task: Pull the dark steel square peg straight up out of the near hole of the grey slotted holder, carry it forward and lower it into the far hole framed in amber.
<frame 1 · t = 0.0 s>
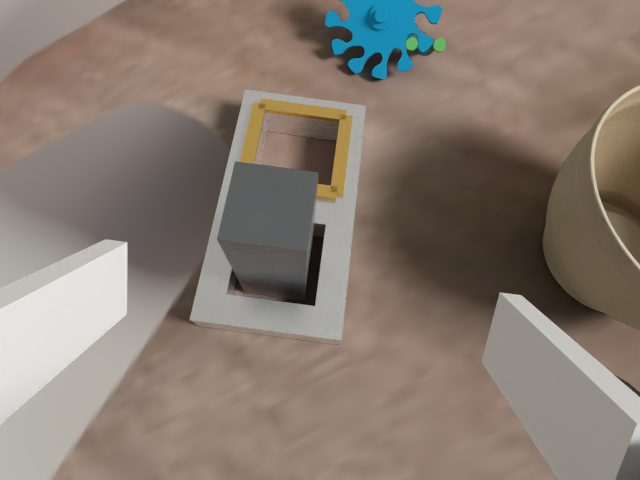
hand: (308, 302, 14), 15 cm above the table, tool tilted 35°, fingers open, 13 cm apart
planter bowl: (598, 257, 32), on the table
gear: (379, 55, 39), on the table
peg: (279, 268, 31), resting in grey slotted holder
grey slotted holder: (288, 214, 32), on the table
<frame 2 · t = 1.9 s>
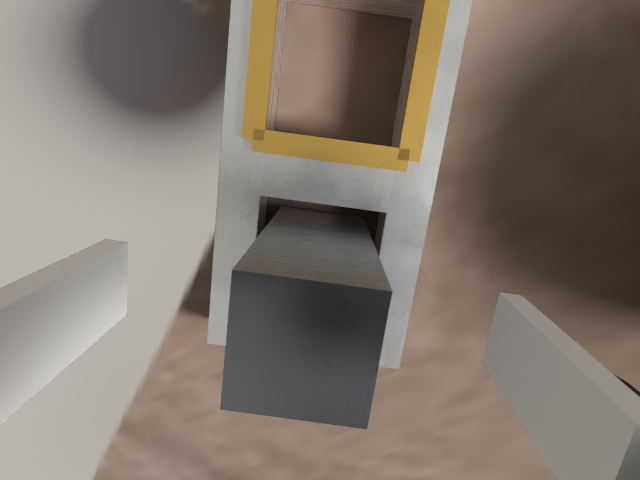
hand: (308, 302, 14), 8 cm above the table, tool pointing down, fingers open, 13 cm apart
peg: (317, 250, 22), resting in grey slotted holder
grey slotted holder: (328, 168, 21), on the table
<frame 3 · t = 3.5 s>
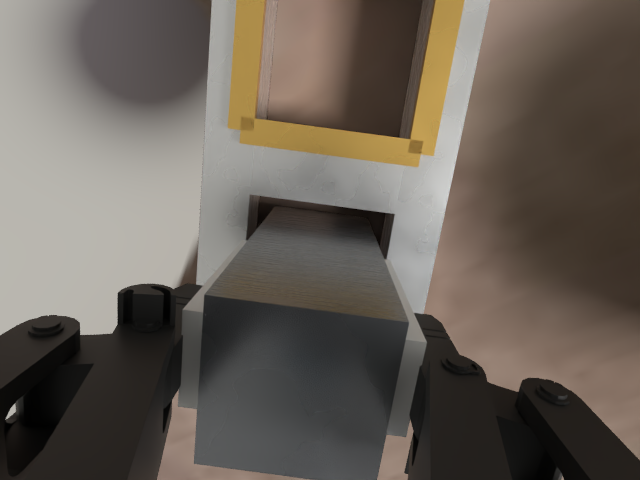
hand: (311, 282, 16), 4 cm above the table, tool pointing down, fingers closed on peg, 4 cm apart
peg: (315, 255, 20), resting in grey slotted holder, touching gripper
grey slotted holder: (328, 163, 19), on the table
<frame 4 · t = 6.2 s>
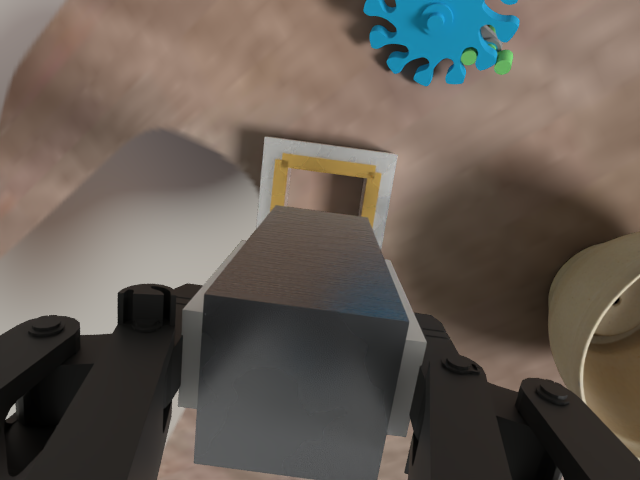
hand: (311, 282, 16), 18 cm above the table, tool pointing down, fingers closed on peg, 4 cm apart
planter bowl: (601, 294, 35), on the table
gear: (431, 34, 31), on the table
peg: (315, 255, 20), point 15 cm above the table, touching gripper
grey slotted holder: (316, 256, 35), on the table
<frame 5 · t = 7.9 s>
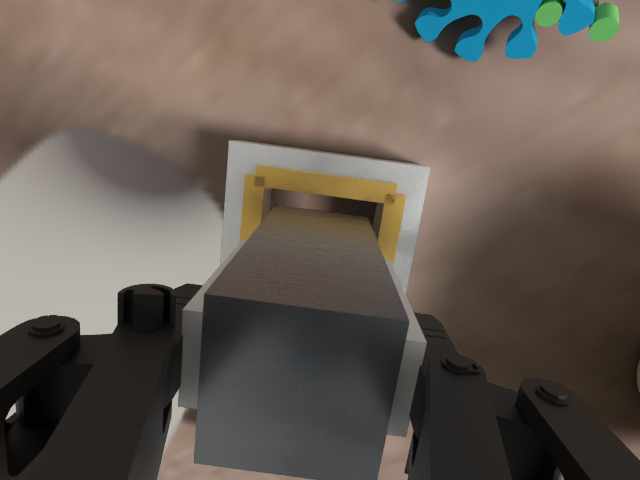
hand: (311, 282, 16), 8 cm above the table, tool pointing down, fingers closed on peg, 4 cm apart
peg: (315, 255, 20), point 4 cm above the table, touching gripper
grey slotted holder: (309, 309, 25), on the table
when the fingers open (5 cm above the table, at t = 9.1 s): peg drops 1 cm, resting in grey slotted holder.
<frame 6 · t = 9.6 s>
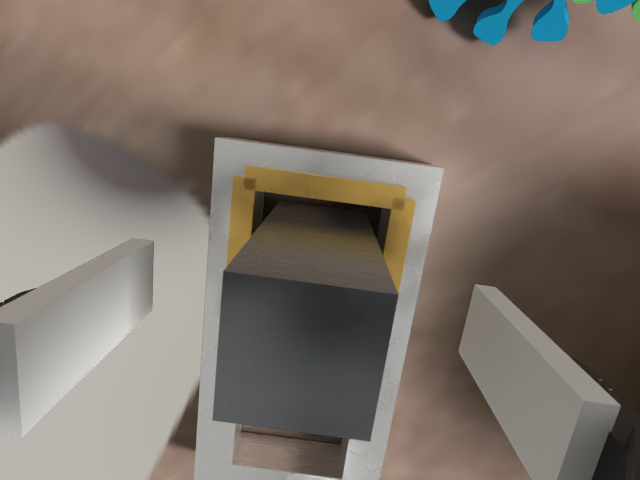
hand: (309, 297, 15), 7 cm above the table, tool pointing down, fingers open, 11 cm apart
peg: (317, 247, 21), resting in grey slotted holder
grey slotted holder: (306, 325, 22), on the table
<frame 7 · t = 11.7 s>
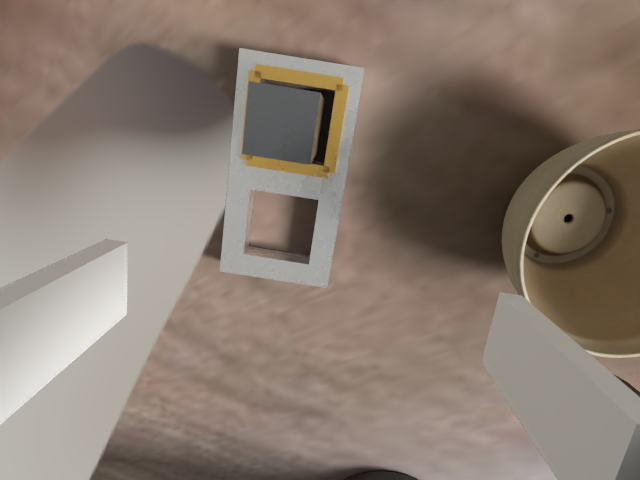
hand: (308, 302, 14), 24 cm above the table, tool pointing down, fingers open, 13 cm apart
planter bowl: (557, 215, 37), on the table
peg: (296, 123, 36), resting in grey slotted holder
grey slotted holder: (289, 173, 37), on the table
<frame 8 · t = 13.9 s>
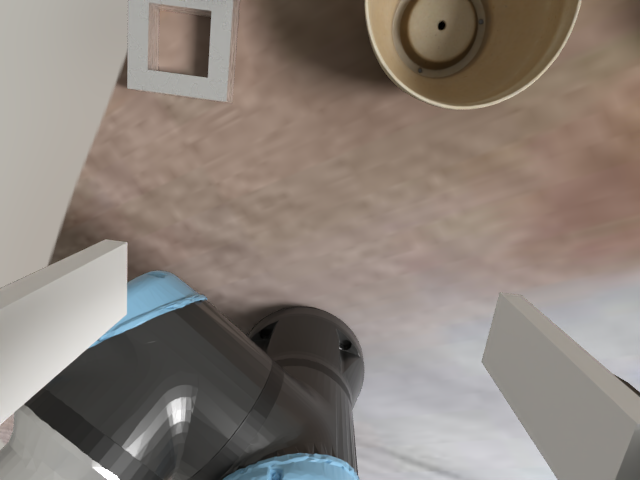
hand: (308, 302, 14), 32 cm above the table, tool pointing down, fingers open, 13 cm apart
planter bowl: (436, 31, 41), on the table
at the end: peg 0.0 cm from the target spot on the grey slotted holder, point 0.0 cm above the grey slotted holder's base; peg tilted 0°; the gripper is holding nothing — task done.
